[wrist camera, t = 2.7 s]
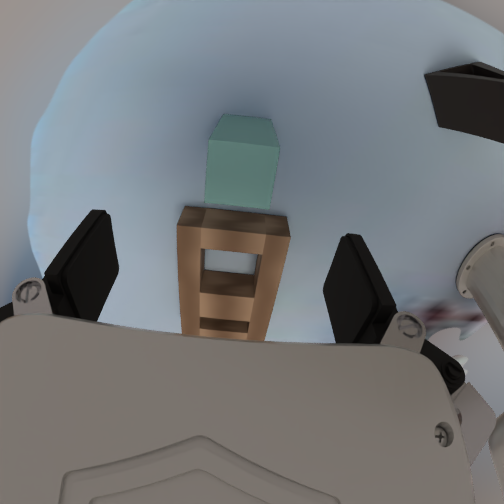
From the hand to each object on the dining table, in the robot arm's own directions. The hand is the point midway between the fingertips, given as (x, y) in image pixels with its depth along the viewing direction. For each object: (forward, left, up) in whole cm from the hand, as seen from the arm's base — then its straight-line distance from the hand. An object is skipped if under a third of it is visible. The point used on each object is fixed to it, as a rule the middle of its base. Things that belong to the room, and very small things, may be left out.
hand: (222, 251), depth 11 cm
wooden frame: (0, +17, -18) cm, 25 cm away
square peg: (0, 0, -18) cm, 18 cm away
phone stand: (-22, -11, -19) cm, 31 cm away
